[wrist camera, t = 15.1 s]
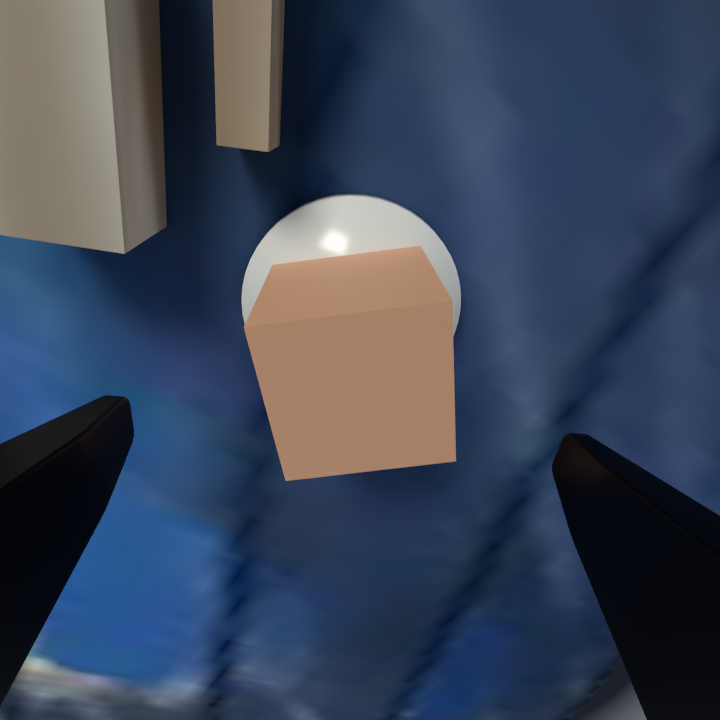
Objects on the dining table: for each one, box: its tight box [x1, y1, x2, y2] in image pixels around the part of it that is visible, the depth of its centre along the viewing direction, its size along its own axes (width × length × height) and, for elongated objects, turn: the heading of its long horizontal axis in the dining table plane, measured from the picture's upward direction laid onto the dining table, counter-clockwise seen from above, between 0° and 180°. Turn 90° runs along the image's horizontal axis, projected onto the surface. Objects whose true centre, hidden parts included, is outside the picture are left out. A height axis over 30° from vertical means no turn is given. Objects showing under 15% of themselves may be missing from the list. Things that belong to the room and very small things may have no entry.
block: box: [244, 246, 456, 481], centre depth 13 cm, size 4×4×4 cm
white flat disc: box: [242, 194, 461, 336], centre depth 15 cm, size 7×7×1 cm
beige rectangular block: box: [0, 0, 167, 254], centre depth 10 cm, size 3×8×3 cm, turn 170°
